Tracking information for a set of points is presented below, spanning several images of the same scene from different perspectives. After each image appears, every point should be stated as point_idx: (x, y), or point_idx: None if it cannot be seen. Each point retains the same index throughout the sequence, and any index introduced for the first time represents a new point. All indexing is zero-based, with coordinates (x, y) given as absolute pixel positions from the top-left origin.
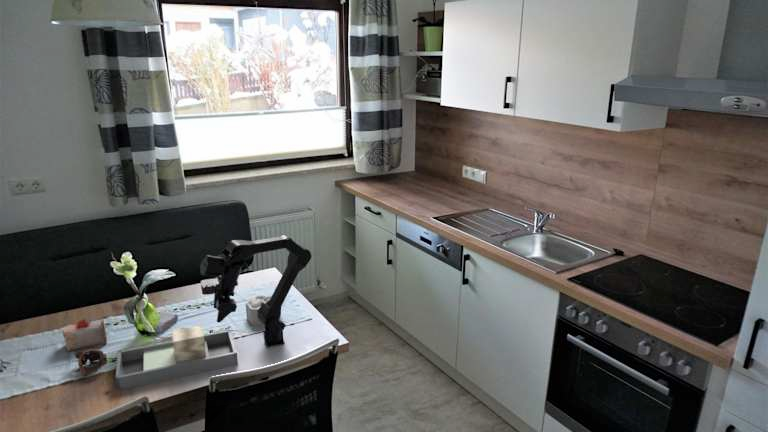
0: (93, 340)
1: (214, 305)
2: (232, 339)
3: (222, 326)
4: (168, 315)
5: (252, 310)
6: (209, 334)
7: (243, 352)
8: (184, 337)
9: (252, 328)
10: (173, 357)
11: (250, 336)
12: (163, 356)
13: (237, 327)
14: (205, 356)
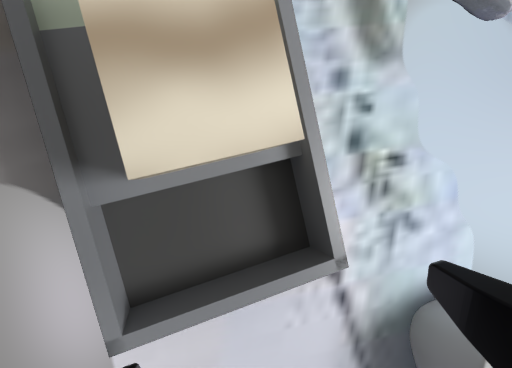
0: None
1: (460, 285)
2: (257, 298)
3: (421, 198)
4: None
5: (477, 358)
6: (322, 171)
7: (218, 324)
8: (128, 19)
9: (391, 320)
10: None
11: (336, 326)
12: None
13: (406, 259)
14: None
